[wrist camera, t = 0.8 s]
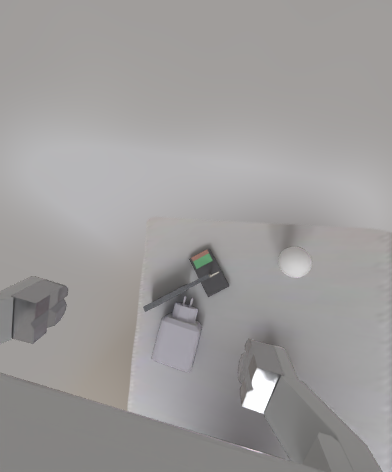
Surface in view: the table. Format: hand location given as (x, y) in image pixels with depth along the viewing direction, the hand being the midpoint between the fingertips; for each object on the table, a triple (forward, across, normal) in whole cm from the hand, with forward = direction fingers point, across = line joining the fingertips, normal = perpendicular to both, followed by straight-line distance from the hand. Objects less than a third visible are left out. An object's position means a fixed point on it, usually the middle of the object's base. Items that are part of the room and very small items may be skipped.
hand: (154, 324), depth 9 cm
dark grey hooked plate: (+40, -1, -20) cm, 44 cm away
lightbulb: (+41, +21, -6) cm, 47 cm away
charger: (+37, +2, -28) cm, 46 cm away
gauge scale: (+41, +5, -14) cm, 44 cm away
